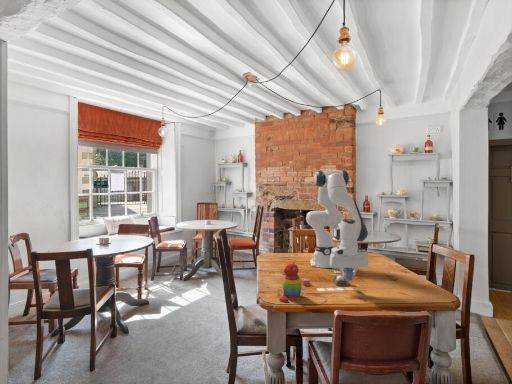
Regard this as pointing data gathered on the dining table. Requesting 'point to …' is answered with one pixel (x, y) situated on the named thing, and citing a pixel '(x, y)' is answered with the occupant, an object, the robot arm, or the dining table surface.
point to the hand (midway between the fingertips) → (348, 275)
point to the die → (305, 282)
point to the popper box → (339, 281)
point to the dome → (339, 278)
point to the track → (333, 289)
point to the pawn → (349, 274)
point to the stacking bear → (291, 283)
